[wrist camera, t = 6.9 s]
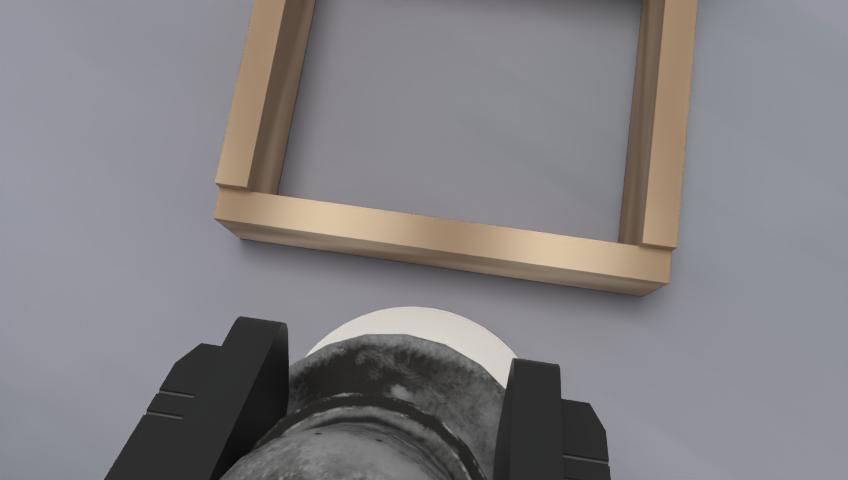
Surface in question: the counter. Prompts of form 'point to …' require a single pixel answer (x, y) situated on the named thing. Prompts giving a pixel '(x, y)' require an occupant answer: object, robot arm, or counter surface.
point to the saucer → (432, 335)
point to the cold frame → (449, 239)
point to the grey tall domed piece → (382, 415)
